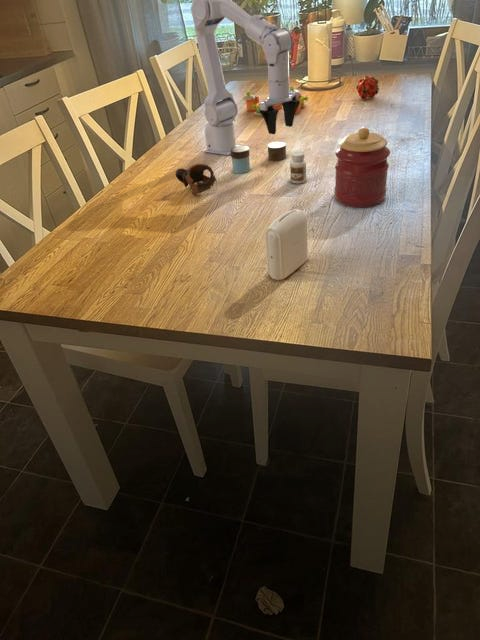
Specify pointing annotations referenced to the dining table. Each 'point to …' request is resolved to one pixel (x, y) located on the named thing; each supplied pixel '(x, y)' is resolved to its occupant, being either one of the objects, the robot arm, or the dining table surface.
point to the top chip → (239, 152)
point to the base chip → (277, 156)
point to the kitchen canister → (361, 169)
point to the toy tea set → (254, 105)
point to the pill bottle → (298, 168)
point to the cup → (241, 165)
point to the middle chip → (276, 148)
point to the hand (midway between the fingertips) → (280, 129)
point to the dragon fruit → (367, 87)
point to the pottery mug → (196, 178)
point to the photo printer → (287, 244)
